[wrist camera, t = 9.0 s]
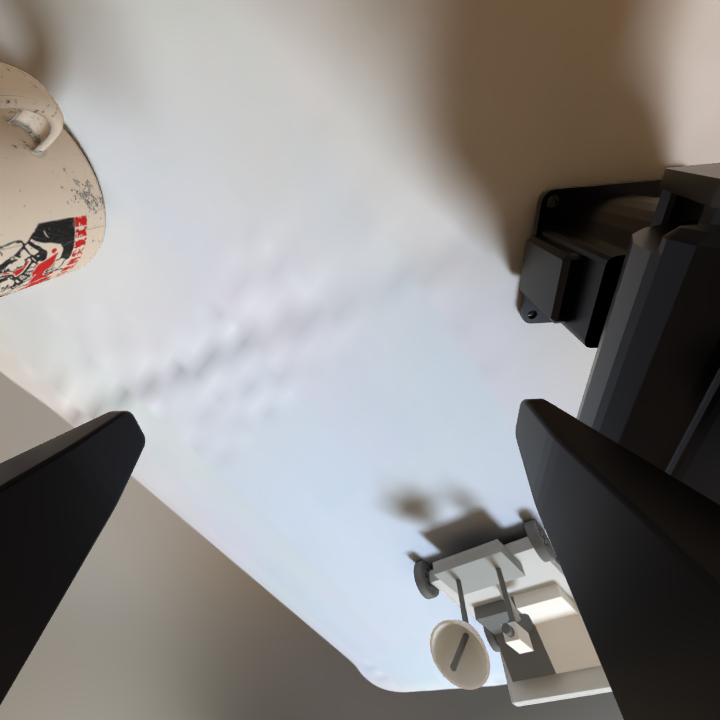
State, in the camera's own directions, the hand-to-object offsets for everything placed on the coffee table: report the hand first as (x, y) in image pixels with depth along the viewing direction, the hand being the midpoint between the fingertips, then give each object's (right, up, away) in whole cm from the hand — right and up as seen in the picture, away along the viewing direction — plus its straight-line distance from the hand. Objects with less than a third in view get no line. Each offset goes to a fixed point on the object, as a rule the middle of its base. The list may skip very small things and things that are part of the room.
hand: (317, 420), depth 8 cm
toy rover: (+14, -18, +24) cm, 34 cm away
